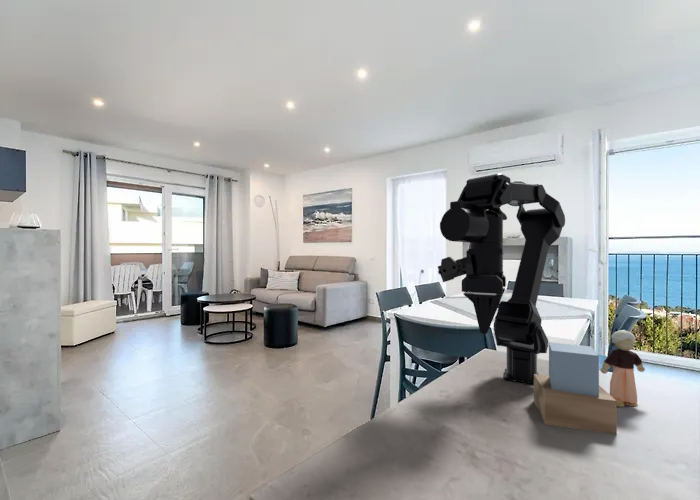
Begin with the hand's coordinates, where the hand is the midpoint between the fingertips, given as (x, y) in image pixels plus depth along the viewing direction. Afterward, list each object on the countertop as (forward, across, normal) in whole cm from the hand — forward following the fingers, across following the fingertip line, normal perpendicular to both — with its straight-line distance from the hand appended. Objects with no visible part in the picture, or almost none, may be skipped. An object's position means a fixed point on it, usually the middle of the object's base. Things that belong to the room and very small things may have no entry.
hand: (485, 328), depth 64 cm
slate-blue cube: (+7, +3, +13) cm, 15 cm away
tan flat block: (+12, +3, +13) cm, 18 cm away
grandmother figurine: (+12, -7, +22) cm, 26 cm away
